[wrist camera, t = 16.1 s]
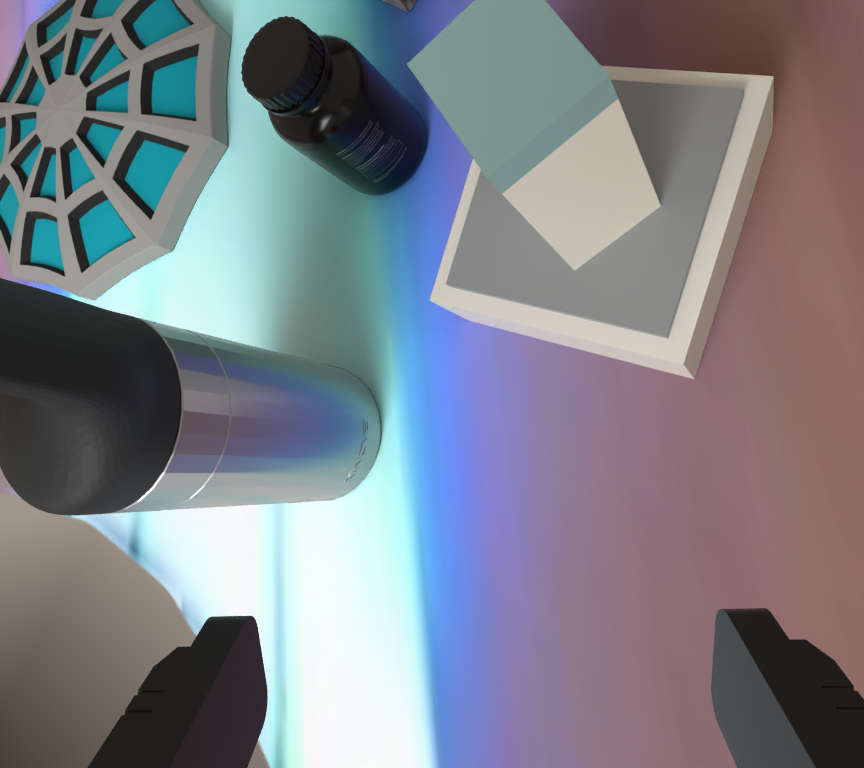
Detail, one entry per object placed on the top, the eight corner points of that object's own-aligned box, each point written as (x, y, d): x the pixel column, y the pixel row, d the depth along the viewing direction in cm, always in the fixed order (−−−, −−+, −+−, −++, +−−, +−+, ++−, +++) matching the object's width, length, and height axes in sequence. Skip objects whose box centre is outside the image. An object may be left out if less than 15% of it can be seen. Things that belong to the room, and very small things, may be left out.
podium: (468, 320, 43) (424, 298, 38) (534, 107, 43) (499, 53, 38) (694, 379, 37) (682, 362, 32) (772, 130, 37) (773, 69, 31)
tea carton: (574, 270, 34) (486, 178, 24) (513, 185, 36) (406, 64, 26) (660, 206, 33) (609, 75, 22) (591, 120, 35) (513, -37, 24)
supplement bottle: (428, 92, 47) (327, -22, 36) (431, 186, 46) (328, 98, 35) (343, 117, 50) (227, 20, 39) (344, 207, 49) (225, 132, 38)
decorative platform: (23, 349, 64) (-34, 340, 59) (-15, 95, 71) (-67, 70, 67) (277, 191, 52) (231, 164, 48) (199, -91, 60) (154, -136, 56)
